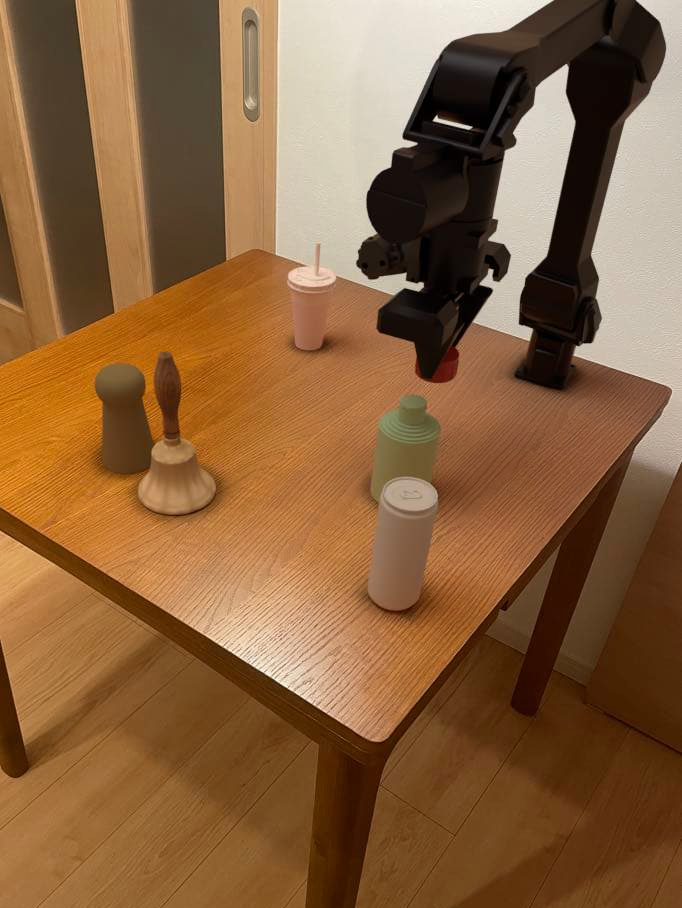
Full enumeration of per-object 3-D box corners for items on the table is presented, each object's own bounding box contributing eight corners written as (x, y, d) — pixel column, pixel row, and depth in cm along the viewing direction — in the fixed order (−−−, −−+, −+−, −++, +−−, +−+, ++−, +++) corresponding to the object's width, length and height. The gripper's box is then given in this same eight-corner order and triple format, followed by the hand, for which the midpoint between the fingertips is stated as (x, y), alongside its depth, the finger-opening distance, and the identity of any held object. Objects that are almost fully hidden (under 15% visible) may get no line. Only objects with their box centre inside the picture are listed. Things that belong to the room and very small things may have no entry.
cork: (165, 448, 90) (158, 361, 83) (141, 478, 86) (131, 390, 79) (117, 437, 92) (106, 351, 84) (91, 466, 87) (77, 378, 80)
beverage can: (362, 577, 75) (376, 476, 67) (412, 575, 76) (432, 474, 68) (371, 615, 72) (386, 512, 64) (424, 613, 72) (446, 510, 64)
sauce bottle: (384, 468, 89) (397, 378, 81) (437, 486, 86) (454, 395, 79) (360, 498, 84) (371, 406, 77) (414, 517, 82) (431, 425, 75)
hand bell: (121, 496, 84) (102, 360, 73) (172, 458, 89) (161, 326, 78) (182, 526, 80) (172, 388, 70) (231, 485, 86) (229, 350, 75)
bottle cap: (440, 358, 83) (444, 338, 81) (463, 377, 80) (467, 357, 78) (407, 367, 81) (409, 347, 80) (429, 387, 79) (432, 366, 77)
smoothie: (327, 357, 107) (335, 254, 97) (281, 352, 108) (283, 249, 98) (335, 335, 111) (342, 235, 102) (289, 330, 112) (293, 230, 103)
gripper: (417, 164, 79) (399, 311, 89) (329, 226, 67) (320, 387, 77) (527, 185, 75) (494, 337, 85) (454, 255, 63) (426, 421, 73)
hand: (434, 367), depth 80 cm, fingers closed on bottle cap, 4 cm apart
